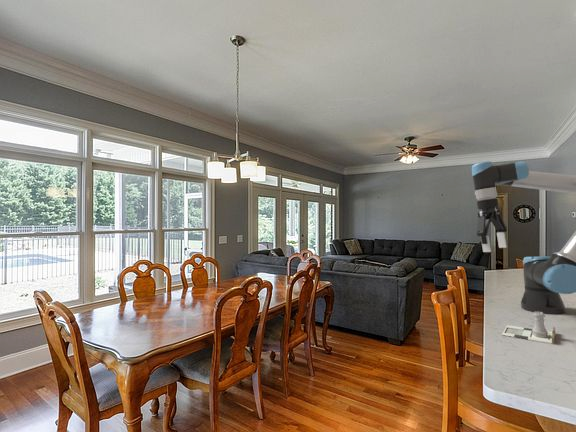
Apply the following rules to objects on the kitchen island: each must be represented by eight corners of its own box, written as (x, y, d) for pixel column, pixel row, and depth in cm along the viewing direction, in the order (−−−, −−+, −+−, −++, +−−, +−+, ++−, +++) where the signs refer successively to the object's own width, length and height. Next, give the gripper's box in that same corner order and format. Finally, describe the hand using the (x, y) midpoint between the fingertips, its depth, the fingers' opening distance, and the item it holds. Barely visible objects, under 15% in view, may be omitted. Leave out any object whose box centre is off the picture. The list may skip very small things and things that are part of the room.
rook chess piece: (541, 333, 111) (539, 310, 111) (552, 337, 107) (550, 313, 107) (528, 333, 111) (527, 310, 111) (539, 338, 106) (537, 314, 107)
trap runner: (507, 326, 120) (506, 320, 120) (555, 333, 111) (555, 327, 111) (502, 335, 111) (501, 329, 111) (554, 344, 102) (553, 337, 102)
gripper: (491, 199, 142) (499, 246, 141) (462, 201, 129) (470, 254, 128) (510, 196, 136) (518, 245, 135) (481, 198, 123) (490, 253, 121)
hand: (495, 249), depth 131 cm, fingers open, 13 cm apart
